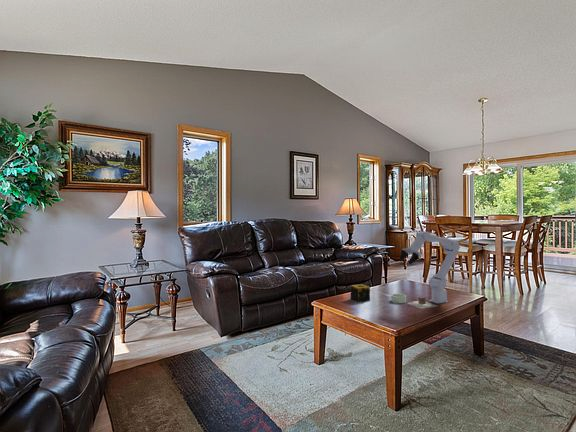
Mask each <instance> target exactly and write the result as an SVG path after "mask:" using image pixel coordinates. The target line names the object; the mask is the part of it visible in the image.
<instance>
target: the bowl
mask: <svg viewBox="0 0 576 432" xmlns="http://www.w3.org/2000/svg"><path fill="white" fill-rule="evenodd" d="M390 298H391V299H390V300H391V303H392V302H393V303H394V304H407V295H406V294H404V293H391V295H390Z"/></svg>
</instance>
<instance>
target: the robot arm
mask: <svg viewBox="0 0 576 432" xmlns="http://www.w3.org/2000/svg"><path fill="white" fill-rule="evenodd" d="M426 242H430V243H436V242H438V243H441V246H442V249H443V250H444V253H445V254H446V256H445V258H444V260H443V262H442V264H441V265H440V268H439V269H438V271H437V273H436V274H433V275H432V277H431V278H430V279H429V280H428V285H429V286H430V289H431V299H429V300H428V301H429V302H431V303H435V304H443V303H448V302H449V301H448V291H447V289H445V288H446V286H447V282H448V280H447V279H446V277H447V275H448V273H449V271H450V269H451V267H452V265H453V264H454V262H455V259H456V257H457V256H458V255H457V254H458V252H459V251H460V248H461V246H460V242H459V241H458V240H454V239H450V238H448V237H443V236H438V235H437V234H435V232H429V231H420V230H419V232H416V236H415V239H414V240H413V242H412V243H411V245H410V246H409V247H407V248H402V249H401V250H400V255H399V260H398V261H399V262H403V261H404V259H405V258H406V257H408V254H410V255H411V257H410V259H409V260H408V264H409V265H412V264H413V263H414V262H416V261H418V260H420V258H421V257H422V255H423V254H422V253H421V252H419V251H420V249H421V248H422V246H423V245H424V243H426Z"/></svg>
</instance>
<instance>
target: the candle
mask: <svg viewBox="0 0 576 432" xmlns="http://www.w3.org/2000/svg"><path fill="white" fill-rule="evenodd" d="M350 300H351V301H354V302H357V303H364V302H365V303H366V302H370V301H371V287H370V286H369V285H366V284H363V283H361V284H352V285H351V284H350Z"/></svg>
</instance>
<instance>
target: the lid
mask: <svg viewBox="0 0 576 432" xmlns="http://www.w3.org/2000/svg"><path fill="white" fill-rule="evenodd" d="M412 304H413V305H415V306H419V307H429V308H432V307H431V306H432V304H433V303H432V302H430V301H429V302H428V301H426V297H423V296H419V297H418V300H417V301H416V300H415V301H412ZM413 305H412V306H413ZM415 306H414V307H415Z"/></svg>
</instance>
